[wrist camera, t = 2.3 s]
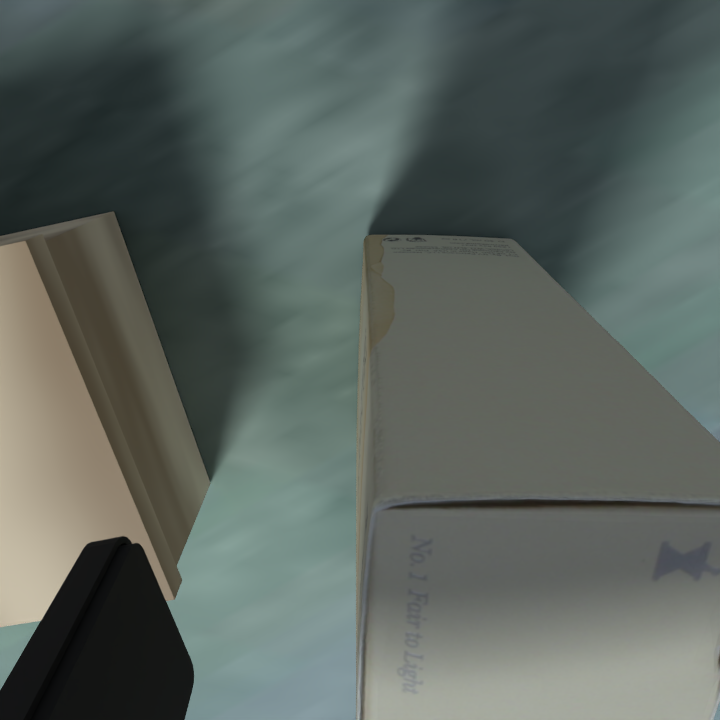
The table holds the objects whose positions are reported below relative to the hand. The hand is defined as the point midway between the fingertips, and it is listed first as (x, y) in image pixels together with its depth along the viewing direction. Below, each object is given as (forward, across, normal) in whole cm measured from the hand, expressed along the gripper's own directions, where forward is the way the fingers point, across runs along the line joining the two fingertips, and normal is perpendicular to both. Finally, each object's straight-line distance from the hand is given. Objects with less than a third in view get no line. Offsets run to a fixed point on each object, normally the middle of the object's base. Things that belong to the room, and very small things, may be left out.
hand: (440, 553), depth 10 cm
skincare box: (+10, -1, 0) cm, 10 cm away
